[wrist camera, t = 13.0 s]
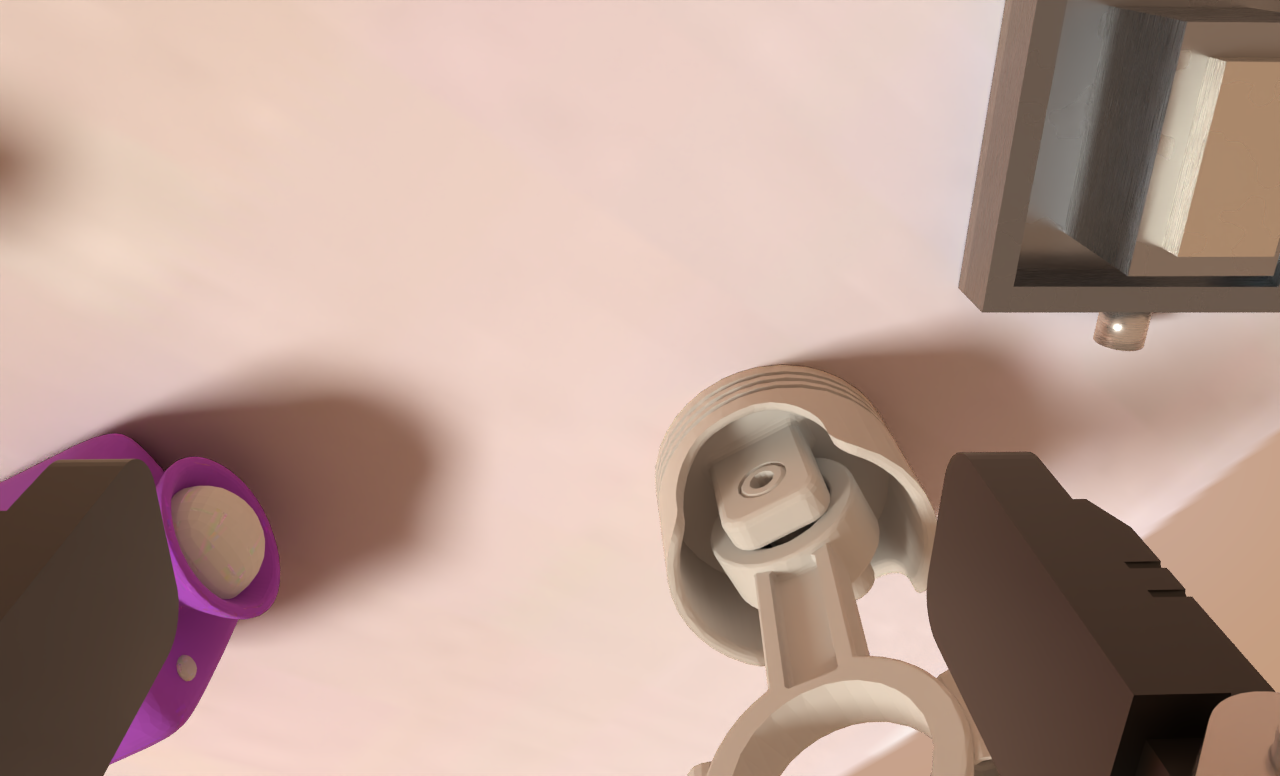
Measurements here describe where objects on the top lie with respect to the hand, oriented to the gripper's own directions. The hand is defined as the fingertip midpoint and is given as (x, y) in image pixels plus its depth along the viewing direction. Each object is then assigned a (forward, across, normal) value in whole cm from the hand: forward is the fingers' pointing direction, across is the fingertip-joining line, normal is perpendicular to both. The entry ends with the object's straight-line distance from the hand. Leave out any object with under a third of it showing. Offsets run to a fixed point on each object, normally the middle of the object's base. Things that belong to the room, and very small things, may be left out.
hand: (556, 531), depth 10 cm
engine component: (+28, -8, +16) cm, 34 cm away
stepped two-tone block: (+27, -21, +1) cm, 34 cm away
